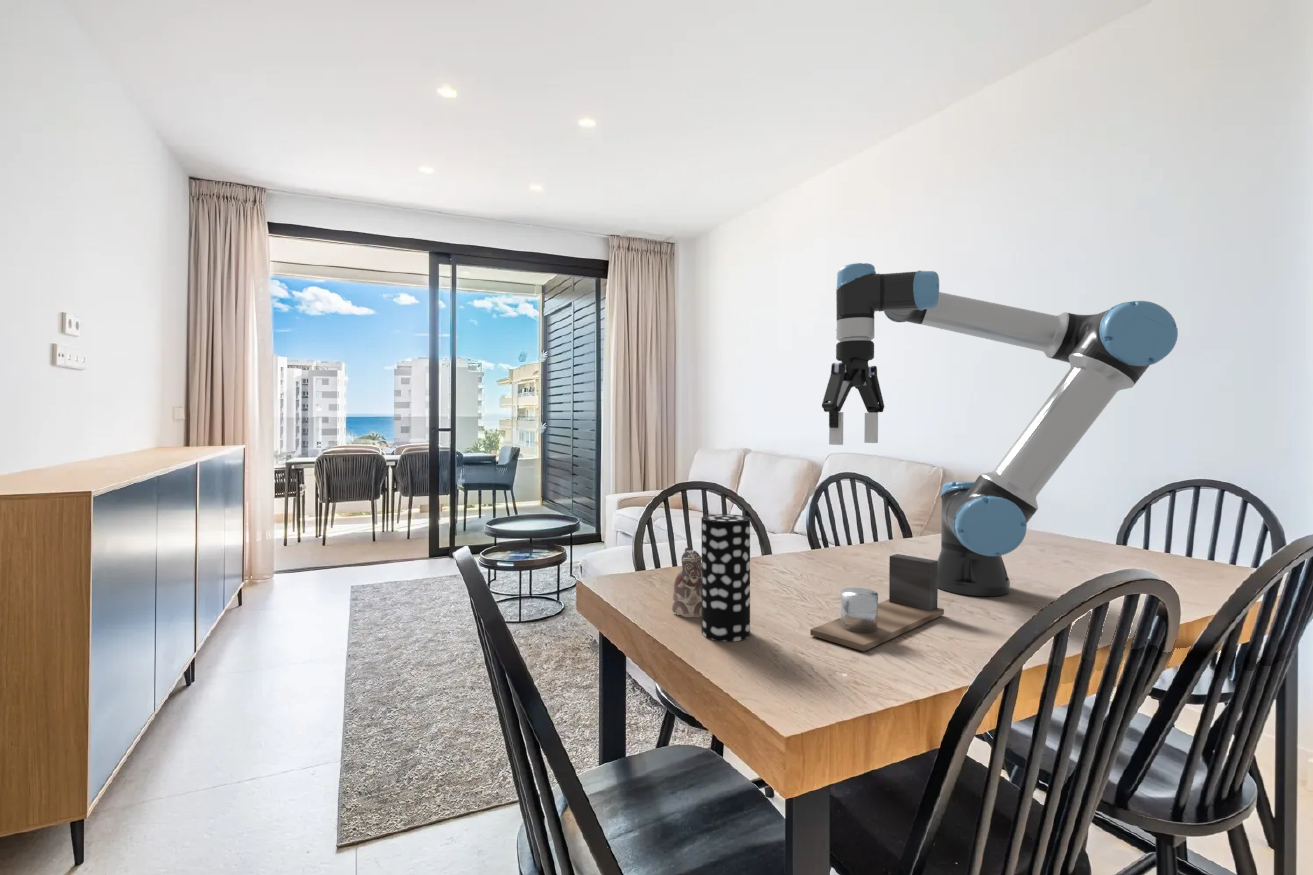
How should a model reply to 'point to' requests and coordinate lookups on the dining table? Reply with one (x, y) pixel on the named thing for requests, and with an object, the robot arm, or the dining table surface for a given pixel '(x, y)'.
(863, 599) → the steel tin
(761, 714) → the dining table surface
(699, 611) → the figurine
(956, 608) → the dining table surface
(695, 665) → the dining table surface
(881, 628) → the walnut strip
